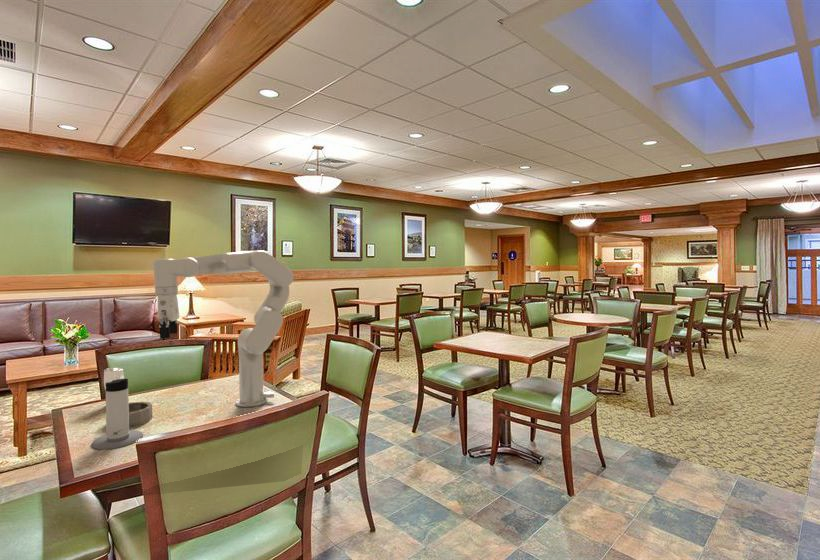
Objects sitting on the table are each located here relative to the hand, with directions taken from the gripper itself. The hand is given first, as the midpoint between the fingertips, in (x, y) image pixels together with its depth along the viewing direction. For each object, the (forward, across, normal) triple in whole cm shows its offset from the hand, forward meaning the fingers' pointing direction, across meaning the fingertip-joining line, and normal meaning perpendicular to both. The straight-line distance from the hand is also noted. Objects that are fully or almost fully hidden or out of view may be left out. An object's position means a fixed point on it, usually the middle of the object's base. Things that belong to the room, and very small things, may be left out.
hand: (169, 335), depth 162 cm
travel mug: (+31, -20, +12) cm, 38 cm away
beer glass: (+31, +20, +27) cm, 46 cm away
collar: (+31, -2, +14) cm, 34 cm away
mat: (+31, -20, +12) cm, 38 cm away
